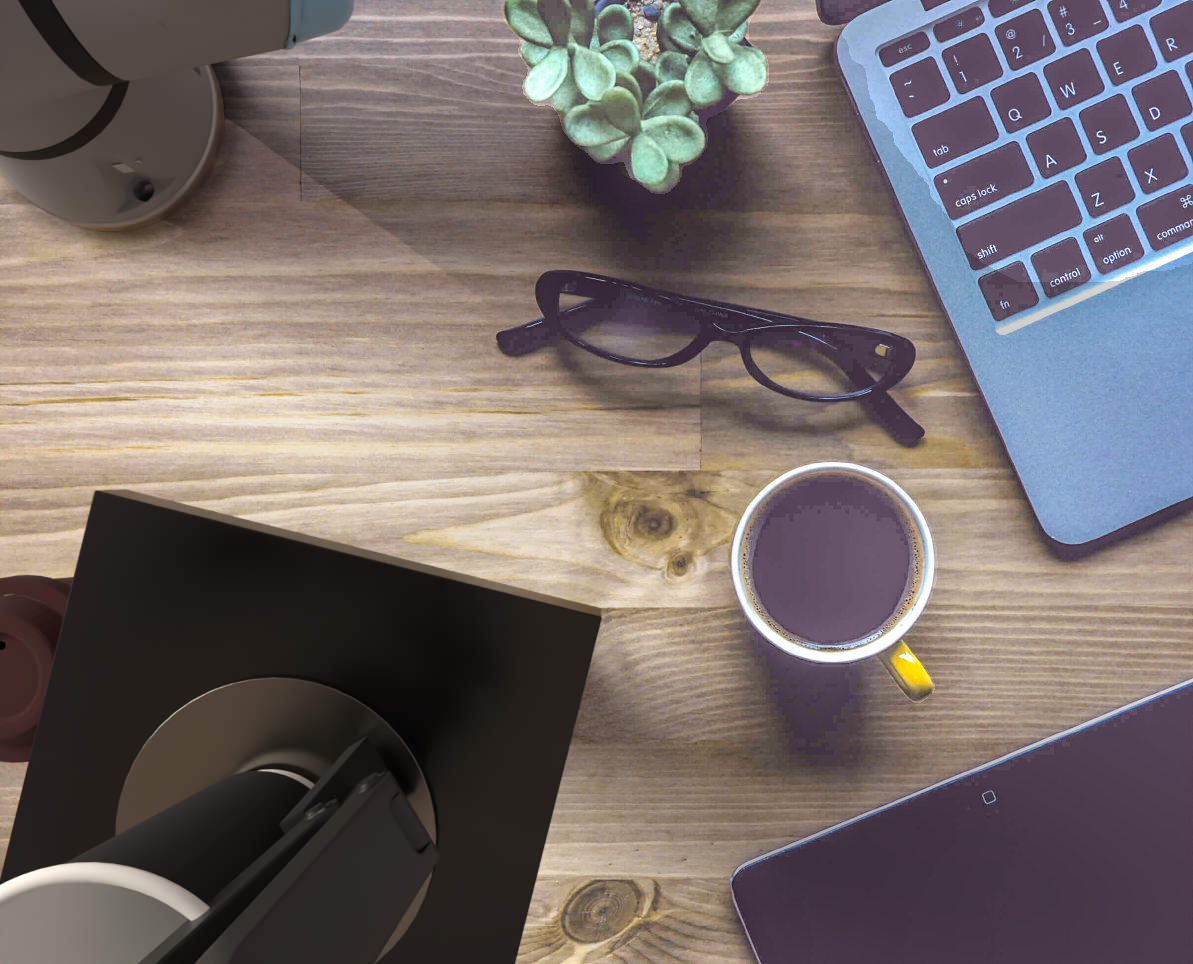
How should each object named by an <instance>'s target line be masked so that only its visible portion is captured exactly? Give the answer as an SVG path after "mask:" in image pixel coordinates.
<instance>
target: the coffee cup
mask: <svg viewBox="0 0 1193 964" xmlns="http://www.w3.org/2000/svg"><path fill="white" fill-rule="evenodd" d="M73 577H74V576H69V577H67V576H66V577H57V578H52V577H49V576H45V575H44V576H43V575H37V574H17V575H10V576H5V577H4V576H3V577H0V762H1V763H10V764H17V763H19V764H20V763H28V762H29V758H30V754H31V750H32V745H33V741H34V737H35V733H36V729H37V725H38V721H39V717H40V713H41V708H42V704H43V700H44V696H45V692H46V688H47V684H48V680H49V676H50V672H51V667H52V663H53V659H54V655H55V651H56V647H57V643H58V639H59V635H60V630H61V626H62V622H63V618H64V614H65V610H66V606H67V602H68V598H69V593H70V589H71V585H72V581H73Z"/></svg>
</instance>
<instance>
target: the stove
mask: <svg viewBox="0 0 1193 964" xmlns="http://www.w3.org/2000/svg"><path fill="white" fill-rule="evenodd" d="M72 577H73V581H72V585H71V589H70V593H69V598H68V602H67V606H66V610H65V614H64V618H63V622H62V626H61V630H60V635H59V639H58V643H57V647H56V651H55V655H54V659H53V663H52V667H51V672H50V676H49V680H48V684H47V688H46V692H45V696H44V700H43V704H42V708H41V713H40V717H39V721H38V725H37V729H36V733H35V737H34V741H33V745H32V750H31V754H30V758H29V762H27V766H26V770H25V775H24V778H23V783H22V787H21V791H20V795H19V799H18V803H17V807H16V811H15V816H14V820H13V824H12V828H11V831H10V835H9V840H8V844H7V848H6V852H5V853H6V854H5V856H4V861H3V864H2V870H1V873H0V885H1V884H3V883H5V882H7V881H9V880H12V879H14V878H16V877H18V876H21V875H23V874H26V873H29V872H33V871H36V870H39V869H42V868H47V867H51V866H56V865H61V864H64V863H66V862H68V861H70V860H72V859H74V858H76V857H77V856H79V855H81V854H83V853H85V852H87V851H89V850H91V849H92V848H94V847H96V846H98V845H100V844H102V843H104V842H105V841H107V840H109V839H111V838H113V837H115V836H117V835H119V834H120V833H122V832H124V831H126V830H128V829H130V828H132V827H133V826H135V825H137V824H139V823H141V822H143V821H145V820H147V819H148V818H150V817H152V816H154V815H156V814H158V813H160V812H161V811H163V810H165V809H167V808H169V807H171V806H173V805H175V804H176V803H178V802H180V801H182V800H184V799H186V798H188V797H189V796H191V795H193V794H195V793H197V792H199V791H201V790H203V789H204V788H206V787H208V786H210V785H212V784H214V783H216V782H217V781H219V780H221V779H223V778H226V777H228V776H231V775H234V774H238V773H242V772H249V771H259V770H269V769H274V770H283V771H288V772H291V773H295V774H297V775H300V776H302V777H304V778H306V779H307V780H309V781H310V782H312V783H313V784H316V783H317V782H318V781H319V779H320V778H321V777H322V776H323V775H324V774H325V773H326V772H327V771H328V769H329V768H330V767H331V766H332V765H333V764H334V763H335V762H336V761H337V759H338V758H339V757H340V756H341V755H342V754H343V753H344V752H345V751H346V749H347V748H348V747H350V746H351V745H353V744H355V743H356V742H358V741H360V740H361V739H363V738H365V737H366V736H368V737H369V739H370V741H371V742H372V744H373V746H374V747H375V749H376V750H377V752H378V754H379V755H380V757H381V759H382V760H383V762H384V764H385V765H386V767H387V769H388V770H389V771H390V772H391V773H392V775H393V777H394V778H395V780H396V781H397V783H398V785H399V786H400V788H401V789H402V791H403V793H404V794H405V796H406V798H407V799H408V801H409V802H410V804H411V806H412V807H413V809H414V811H415V812H416V814H417V816H418V817H419V819H420V821H421V822H422V824H423V826H424V827H425V829H426V831H427V832H428V834H429V836H430V838H431V839H432V841H433V843H434V844H435V846H436V848H437V849H438V851H439V852H440V854H441V855H440V858H439V860H438V862H437V863H436V865H435V866H434V868H433V870H432V871H431V873H430V874H429V876H428V878H427V879H426V881H425V882H424V884H423V886H422V887H421V889H420V891H419V892H418V894H417V895H416V897H415V899H414V900H413V902H412V903H411V905H410V907H409V908H408V910H407V912H406V913H405V915H404V916H403V918H402V920H401V921H400V923H399V924H398V926H397V928H396V929H395V931H394V932H393V934H392V936H391V937H390V939H389V941H388V942H387V944H386V945H385V947H384V949H383V950H382V952H381V953H380V955H379V957H378V958H377V960H376V962H375V963H374V964H516V962H517V958H518V955H519V949H520V946H521V942H522V939H523V935H524V931H525V927H526V923H527V920H528V919H527V918H528V914H529V912H530V911H529V909H530V907H531V902H532V898H533V895H534V890H535V887H536V886H535V885H536V882H537V879H538V875H539V870H540V867H541V863H542V858H543V855H544V851H545V847H546V843H547V839H548V835H549V831H550V826H551V822H552V819H553V814H554V811H555V808H556V807H555V806H556V803H557V799H558V796H559V790H560V788H561V787H560V786H561V783H562V779H563V775H564V771H565V766H566V762H567V759H568V754H569V750H570V748H571V747H570V746H571V743H572V739H573V735H574V730H575V727H576V723H577V719H578V715H579V711H580V706H581V703H582V699H583V695H584V691H585V687H586V683H587V679H588V675H589V671H590V667H591V663H592V659H593V655H594V651H595V646H596V643H597V640H598V639H597V638H598V636H599V635H598V634H599V631H600V627H601V623H602V619H603V618H602V617H603V612H602V611H603V610H602V609H603V608H601V607H598V606H594V605H590V604H585V603H581V602H578V601H575V600H571V599H567V598H562V597H559V596H553V595H550V594H545V593H543V592H542V593H541V592H538V591H534V590H531V589H525V588H522V587H518V586H514V585H510V584H505V583H502V582H498V581H494V580H491V579H486V578H482V577H478V576H474V575H470V574H465V573H463V572H458V571H454V570H450V569H446V568H442V567H439V566H434V565H430V564H425V563H422V562H419V561H414V560H409V559H405V558H402V557H398V556H394V555H390V554H386V553H382V552H378V551H374V550H370V549H366V548H361V547H358V546H354V545H349V544H345V543H341V542H338V541H335V540H330V539H326V538H322V537H319V536H313V535H310V534H305V533H302V532H298V531H294V530H290V529H286V528H283V527H282V528H281V527H278V526H274V525H270V524H266V523H263V522H259V521H254V520H250V519H247V518H242V517H238V516H234V515H230V514H225V513H221V512H219V511H213V510H210V509H207V508H203V507H198V506H194V505H190V504H186V503H182V502H178V501H174V500H170V499H166V498H162V497H158V496H154V495H150V494H147V493H142V492H137V491H134V490H130V489H125V488H122V489H121V488H120V489H119V488H118V489H98V490H97V489H96V490H94V491H93V495H92V499H91V503H90V507H89V512H88V516H87V520H86V524H85V529H84V532H83V537H82V541H81V544H80V548H79V553H78V557H77V561H76V565H75V569H74V573H73V576H72Z"/></svg>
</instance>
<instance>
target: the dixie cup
mask: <svg viewBox="0 0 1193 964" xmlns="http://www.w3.org/2000/svg"><path fill="white" fill-rule="evenodd" d="M314 785H315V784H313V783H312V782H310V781H309V780H307V779H306V778H304V777H302V776H300V775H297V774H295V773H291V772H288V771H283V770H274V769H269V770H259V771H249V772H242V773H238V774H234V775H231V776H228V777H226V778H223V779H221V780H219V781H217V782H216V783H214V784H212V785H210V786H208V787H206V788H204V789H203V790H201V791H199V792H197V793H195V794H193V795H191V796H189V797H188V798H186V799H184V800H182V801H180V802H178V803H176V804H175V805H173V806H171V807H169V808H167V809H165V810H163V811H161V812H160V813H158V814H156V815H154V816H152V817H150V818H148V819H147V820H145V821H143V822H141V823H139V824H137V825H135V826H133V827H132V828H130V829H128V830H126V831H124V832H122V833H120V834H119V835H117V836H115V837H113V838H111V839H109V840H107V841H105V842H104V843H102V844H100V845H98V846H96V847H94V848H92V849H91V850H89V851H87V852H85V853H83V854H81V855H79V856H77V857H76V858H74V859H72V860H70V861H68V862H66V863H64V864H61V865H56V866H51V867H47V868H42V869H39V870H36V871H33V872H29V873H26V874H23V875H21V876H18V877H16V878H14V879H12V880H9V881H7V882H5V883H3V884H1V885H0V964H138V963H139V962H140V961H141V960H142V959H144V958H145V957H146V956H147V955H148V954H149V953H150V952H152V951H153V950H154V949H155V948H156V947H157V946H158V945H160V944H161V943H162V942H163V941H164V940H165V939H166V938H168V937H169V936H170V935H171V934H172V933H173V932H174V931H176V930H177V929H178V928H179V927H180V926H181V925H182V924H184V923H185V922H186V921H187V920H188V919H189V920H190V921H193V920H195V919H196V918H198V917H199V916H201V915H202V914H204V913H205V912H206V911H207V910H208V909H209V908H210V907H209V906H208V905H207V904H208V903H209V901H210V900H211V899H212V898H213V897H214V896H216V895H217V894H218V893H219V892H220V891H221V890H222V889H224V888H225V887H226V886H227V885H228V884H229V883H230V882H232V881H233V880H234V879H235V878H236V877H237V876H238V875H240V874H241V873H242V872H243V871H244V870H245V869H246V868H248V867H249V866H250V865H251V864H252V863H253V862H254V861H256V860H257V859H258V858H259V857H260V856H261V855H262V854H264V853H265V852H266V851H267V850H268V849H269V848H270V847H272V846H273V845H274V844H275V843H276V842H277V841H278V840H280V839H281V838H282V837H283V836H284V835H285V833H284V832H283V830H282V828H281V827H280V825H279V824H280V823H281V822H282V820H283V819H284V818H285V817H286V816H287V815H288V814H289V813H290V812H291V810H292V809H293V808H294V807H295V806H296V805H297V804H298V803H299V802H300V801H301V799H302V798H303V797H304V796H305V795H306V794H307V793H308V792H309V791H310V789H311V788H312V787H313V786H314Z"/></svg>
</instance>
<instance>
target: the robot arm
mask: <svg viewBox="0 0 1193 964" xmlns="http://www.w3.org/2000/svg"><path fill="white" fill-rule="evenodd" d="M355 5H356V4H355V0H0V174H1V175H2V176H3V177H4V178H5V179H6V181H7V182H8V183H9V184H10V185H11V186H12V187H13V188H14V190H16V191H17V193H18V194H20V195H21V196H22V197H23V198H24V199H25V200H27V201H28V202H29V203H30V204H32V205H33V206H35V207H36V208H38V209H40V210H42V211H44V212H45V213H47V214H49V215H51V216H54V217H56V218H58V219H60V220H62V221H65V222H67V223H69V224H70V225H71V224H72V225H75V226H77V227H80V228H84V229H88V230H93V231H101V232H123V231H130V230H135V229H140V228H142V227H147V226H150V225H152V224H155V223H158V222H160V221H162V220H163V219H165V218H167V217H169V216H171V215H173V214H174V213H175V212H177V211H178V210H180V209H181V208H182V207H183V206H185V205H186V204H187V203H188V202H189V201H191V199H193V197H194V196H195V195H196V194H197V193H198V192H199V191H200V189H201V188H202V187H203V185H204V184H205V182H206V181H207V179H208V178H209V176H210V174H211V172H212V170H213V168H214V166H215V164H216V163H217V162H216V161H217V160H218V157H219V154H220V150H221V147H222V143H223V138H224V130H225V105H224V99H223V94H222V93H223V92H222V89H221V85H220V83H219V79H218V76H217V74H216V71H215V70H214V67H213V64H219V63H223V62H228V61H232V60H233V61H234V60H237V59H243V58H246V57H252V56H257V55H261V54H266V53H271V52H275V51H280V50H284V51H285V50H286V51H287V50H291V49H293V48H295V47H296V46H297V44H300V43H303V42H307V41H310V40H312V39H317V38H319V37H323V36H326V35H329V34H332V33H336V32H338V31H339V30H341V29H342V28H343V27H345V25H346V24H347V23H348V22H349V21H350V20H351V18H352V15H353V12H354V10H355ZM279 825H280V827H281V828H282V830H283V832H284V833H285V835H284V836H283V837H282V838H281V839H280V840H278V841H277V842H276V843H275V844H274V845H273V846H272V847H270V848H269V849H268V850H267V851H266V852H265V853H264V854H262V855H261V856H260V857H259V858H258V859H257V860H256V861H254V862H253V863H252V864H251V865H250V866H249V867H248V868H246V869H245V870H244V871H243V872H242V873H241V874H240V875H238V876H237V877H236V878H235V879H234V880H233V881H232V882H230V883H229V884H228V885H227V886H226V887H225V888H224V889H222V890H221V891H220V892H219V893H218V894H217V895H216V896H214V897H213V898H212V899H211V900H210V901H209V903H208V904H207V905H208V906H209V907H210V908H209V909H208V910H207V911H206V912H205V913H204V914H202V915H201V916H199V917H198V918H196V919H195V920H193V921H190V920H189V919H188V920H187V921H186V922H185V923H184V924H182V925H181V926H180V927H179V928H178V929H177V930H176V931H174V932H173V933H172V934H171V935H170V936H169V937H168V938H166V939H165V940H164V941H163V942H162V943H161V944H160V945H158V946H157V947H156V948H155V949H154V950H153V951H152V952H150V953H149V954H148V955H147V956H146V957H145V958H144V959H142V960H141V961H140V962H139V963H138V964H374V963H375V962H376V960H377V958H378V957H379V955H380V953H381V952H382V950H383V949H384V947H385V945H386V944H387V942H388V941H389V939H390V937H391V936H392V934H393V932H394V931H395V929H396V928H397V926H398V924H399V923H400V921H401V920H402V918H403V916H404V915H405V913H406V912H407V910H408V908H409V907H410V905H411V903H412V902H413V900H414V899H415V897H416V895H417V894H418V892H419V891H420V889H421V887H422V886H423V884H424V882H425V881H426V879H427V878H428V876H429V874H430V873H431V871H432V870H433V868H434V866H435V865H436V863H437V862H438V860H439V858H440V855H441V854H440V852H439V851H438V849H437V848H436V846H435V844H434V843H433V841H432V839H431V838H430V836H429V834H428V832H427V831H426V829H425V827H424V826H423V824H422V822H421V821H420V819H419V817H418V816H417V814H416V812H415V811H414V809H413V807H412V806H411V804H410V802H409V801H408V799H407V798H406V796H405V794H404V793H403V791H402V789H401V788H400V786H399V785H398V783H397V781H396V780H395V778H394V777H393V775H392V773H391V772H390V771H389V770H388V769H387V767H386V765H385V764H384V762H383V760H382V759H381V757H380V755H379V754H378V752H377V750H376V749H375V747H374V746H373V744H372V742H371V741H370V739H369V737H368V736H366V737H365V738H363V739H361V740H360V741H358V742H356V743H355V744H353V745H351V746H350V747H348V748H347V749H346V751H345V752H344V753H343V754H342V755H341V756H340V757H339V758H338V759H337V761H336V762H335V763H334V764H333V765H332V766H331V767H330V768H329V769H328V771H327V772H326V773H325V774H324V775H323V776H322V777H321V778H320V779H319V781H318V782H317V783H316V784H315V785H314V786H313V787H312V788H311V789H310V791H309V792H308V793H307V794H306V795H305V796H304V797H303V798H302V799H301V801H300V802H299V803H298V804H297V805H296V806H295V807H294V808H293V809H292V810H291V812H290V813H289V814H288V815H287V816H286V817H285V818H284V819H283V820H282V822H281V823H280V824H279Z"/></svg>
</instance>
